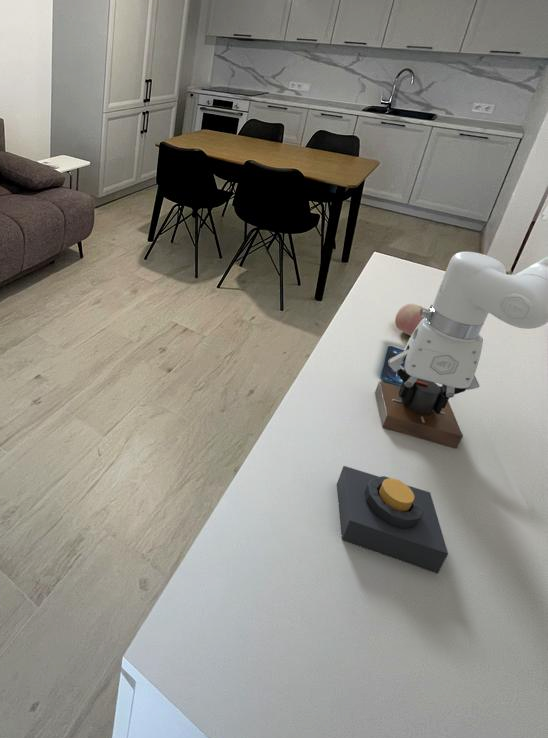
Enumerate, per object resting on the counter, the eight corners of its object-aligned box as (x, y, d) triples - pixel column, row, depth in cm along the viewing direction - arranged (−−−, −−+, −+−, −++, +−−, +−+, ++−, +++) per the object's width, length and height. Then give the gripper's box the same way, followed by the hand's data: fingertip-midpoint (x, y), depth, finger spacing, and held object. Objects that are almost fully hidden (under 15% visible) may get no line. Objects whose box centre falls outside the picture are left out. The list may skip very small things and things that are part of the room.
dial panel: (442, 410, 96) (447, 398, 95) (457, 448, 88) (463, 435, 86) (374, 392, 100) (379, 380, 99) (382, 427, 91) (387, 414, 90)
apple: (426, 349, 115) (438, 320, 112) (390, 337, 119) (400, 308, 115) (426, 333, 121) (437, 305, 118) (391, 322, 125) (401, 294, 122)
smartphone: (426, 357, 111) (422, 393, 99) (425, 359, 111) (421, 396, 100) (388, 344, 115) (379, 377, 103) (387, 346, 115) (379, 379, 103)
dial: (428, 402, 94) (438, 380, 92) (434, 418, 90) (444, 395, 88) (402, 395, 95) (411, 373, 93) (407, 410, 91) (416, 388, 89)
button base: (421, 511, 75) (434, 483, 73) (437, 574, 67) (453, 544, 64) (336, 484, 79) (346, 456, 77) (341, 540, 70) (353, 511, 68)
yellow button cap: (407, 492, 72) (411, 483, 71) (413, 515, 68) (417, 507, 68) (377, 482, 73) (380, 474, 72) (381, 505, 69) (384, 496, 69)
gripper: (403, 321, 84) (372, 404, 91) (521, 347, 79) (478, 433, 87) (395, 300, 91) (367, 379, 98) (503, 323, 86) (465, 404, 93)
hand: (419, 403), depth 92 cm, fingers closed on dial, 4 cm apart
